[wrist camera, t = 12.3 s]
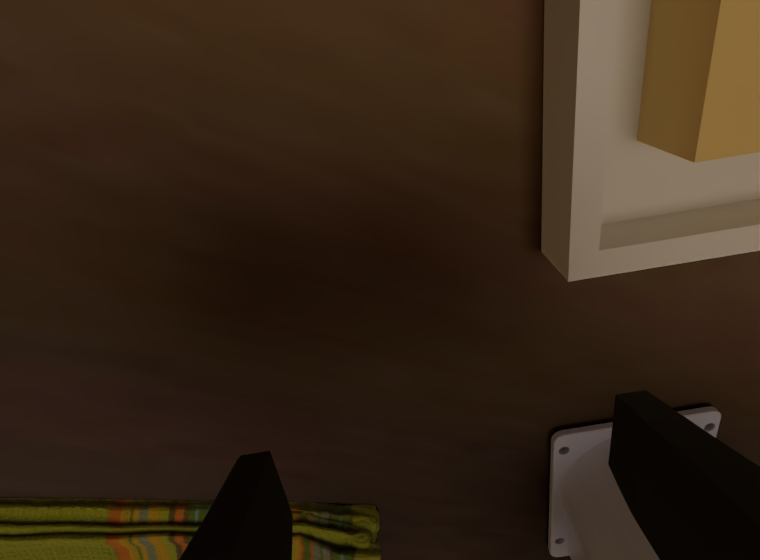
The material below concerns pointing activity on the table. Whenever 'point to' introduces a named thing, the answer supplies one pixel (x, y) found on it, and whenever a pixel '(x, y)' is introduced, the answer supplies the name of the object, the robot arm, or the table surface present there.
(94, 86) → the table surface
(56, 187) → the table surface
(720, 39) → the tabbed collar
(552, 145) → the tray
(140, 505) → the dish towel
